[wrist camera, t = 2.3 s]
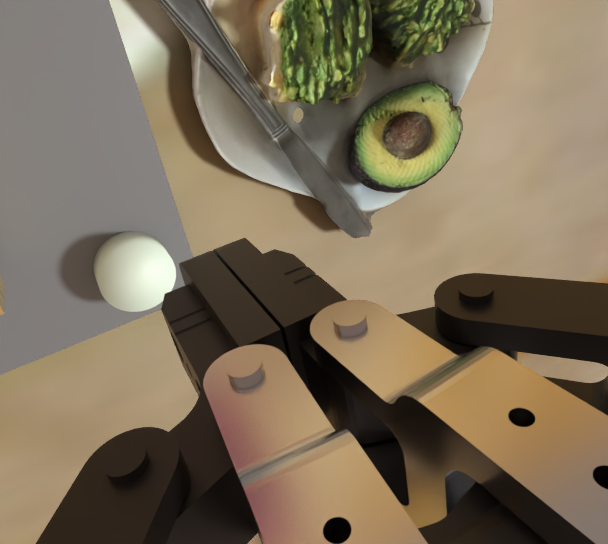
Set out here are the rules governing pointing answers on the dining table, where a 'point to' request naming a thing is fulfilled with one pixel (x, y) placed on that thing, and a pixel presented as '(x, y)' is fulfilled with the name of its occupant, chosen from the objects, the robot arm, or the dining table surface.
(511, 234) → the dining table surface
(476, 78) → the dining table surface
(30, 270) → the base
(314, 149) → the salad plate
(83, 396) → the dining table surface
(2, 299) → the tan elongated block
